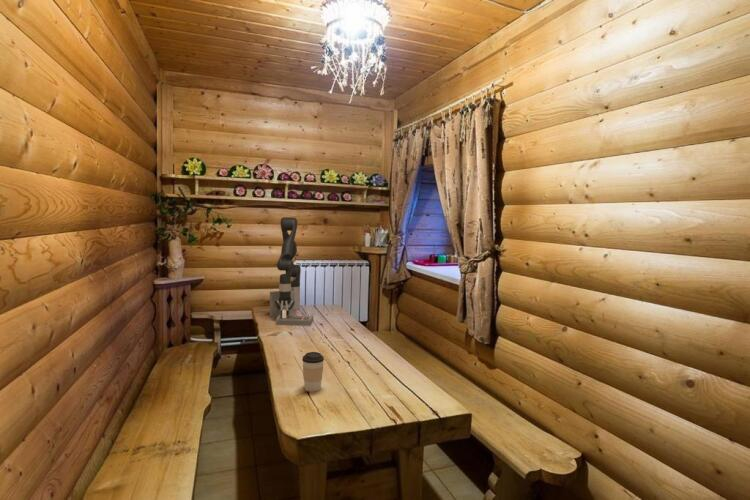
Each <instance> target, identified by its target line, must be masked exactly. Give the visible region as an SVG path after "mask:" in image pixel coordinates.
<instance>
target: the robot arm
mask: <svg viewBox="0 0 750 500" xmlns="http://www.w3.org/2000/svg"><path fill="white" fill-rule="evenodd" d="M280 229H281V234H282V241H283V243H282V245H281V252H280V256H279V259H278V261H277V262H276V269H278V271H282V272H285V273H281V274H280V275H279V285H278V286H279V287H278V291H279V299H278V300H276V301H275V304H276V306H277V308H278V309H279V310H281V315H282V310H283V307H284V305H286V309H287V311H286V316H288V315H289V310H291V309H292V307H293V311H294V310H295V311H296V310H300V308H301V307H300V306H301V305H300V303H301V274H302V273H301V272H302V271H301V266H300V265H299V264H294V262H293V259H294V258H295V257H296V255H297V253H298V249H297V248H298V247H297V246H298V245H297V242H296V240H295V239H296V238H295V237H296V234H297V229H298V219H297V217H287V216H286V217H285V216H283V217H281V219H280ZM289 231H290V234H289ZM292 278H295V279H292ZM291 279H292V280H291ZM291 291H293V301H292V299H291ZM279 302H280V303H281V307H280V305H279ZM290 302H291V304H292V305H291V306H290V308H289V303H290Z"/></svg>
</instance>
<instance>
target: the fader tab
mask: <svg viewBox="0 0 750 500" xmlns="http://www.w3.org/2000/svg"><path fill="white" fill-rule="evenodd" d="M286 311H287V309H283V310H282V318H287V316H286Z"/></svg>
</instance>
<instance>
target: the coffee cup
mask: <svg viewBox="0 0 750 500" xmlns="http://www.w3.org/2000/svg"><path fill="white" fill-rule="evenodd" d="M324 360H325V358H324V356H323V355H322V353H321V352H318V351H310V352H306V353H305V354H304V355H303V356H302V360H301V361H302V374H303V384H304V388H303V389H304V391H306V392H310V393H311V392H317V391H318V392H319V391H320V390H321V389H322V380H323V371H324Z"/></svg>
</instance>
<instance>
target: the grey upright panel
mask: <svg viewBox="0 0 750 500" xmlns="http://www.w3.org/2000/svg"><path fill="white" fill-rule="evenodd" d="M278 299H279V290H277V291H269V318H277V317H278V316H279V315H280V314H281V310H279V309H278V308H277V306H276V304H275V301H276V300H278ZM291 299H292V301H293V291H291ZM279 305H280V307H281V303H280V302H279ZM291 305H292V304H291V302H290V303H289V308H290V306H291ZM283 309H286V305H284V307H283ZM288 316H294V310H293V307H292V309H291V310H289V315H288Z"/></svg>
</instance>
